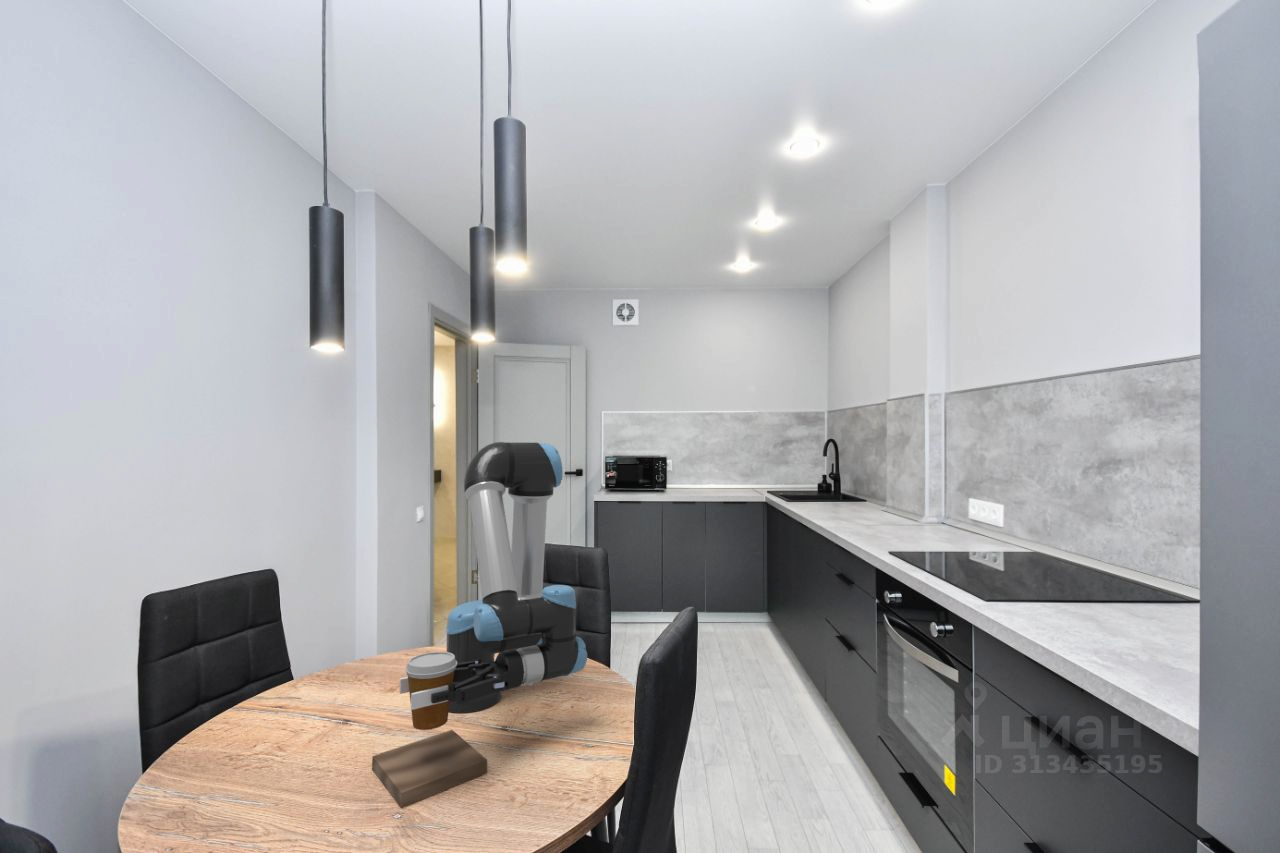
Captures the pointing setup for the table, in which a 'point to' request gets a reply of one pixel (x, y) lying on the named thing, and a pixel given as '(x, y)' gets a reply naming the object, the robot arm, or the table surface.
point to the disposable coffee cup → (430, 686)
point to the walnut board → (428, 767)
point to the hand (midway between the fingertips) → (405, 693)
